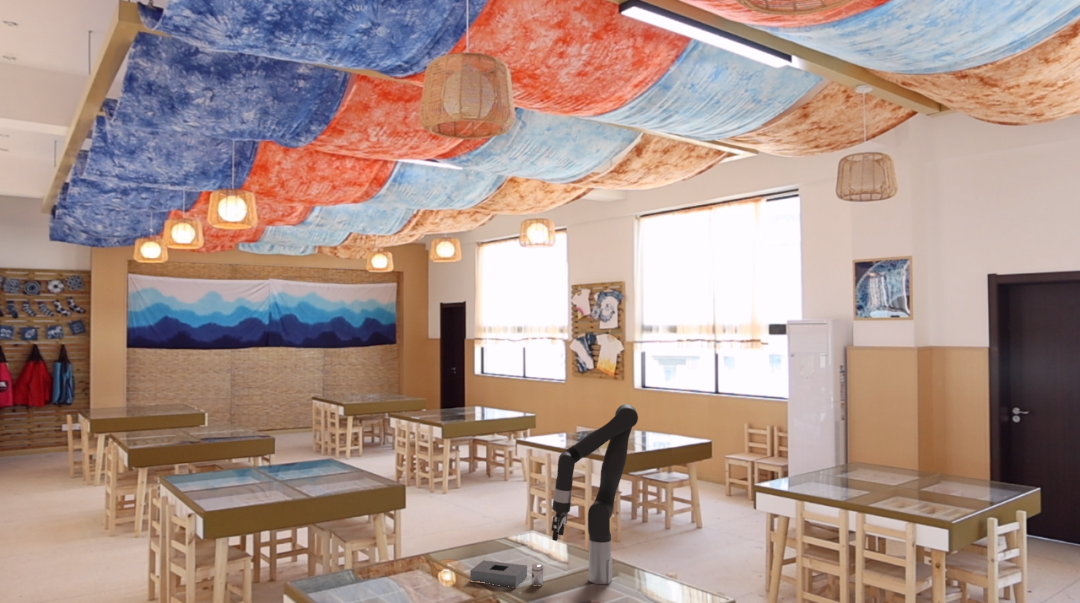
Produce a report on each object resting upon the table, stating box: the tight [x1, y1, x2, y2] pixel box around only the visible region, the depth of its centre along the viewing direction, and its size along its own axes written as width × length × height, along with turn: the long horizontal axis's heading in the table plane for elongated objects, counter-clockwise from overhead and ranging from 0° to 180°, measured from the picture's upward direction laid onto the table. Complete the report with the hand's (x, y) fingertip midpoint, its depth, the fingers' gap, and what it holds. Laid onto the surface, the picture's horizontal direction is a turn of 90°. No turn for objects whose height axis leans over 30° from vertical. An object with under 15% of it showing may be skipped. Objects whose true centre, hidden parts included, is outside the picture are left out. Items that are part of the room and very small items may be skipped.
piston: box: [531, 563, 544, 586], centre depth 308 cm, size 5×5×8 cm
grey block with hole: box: [469, 560, 528, 589], centre depth 313 cm, size 20×14×5 cm
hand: (557, 537), depth 315 cm, fingers open, 8 cm apart
